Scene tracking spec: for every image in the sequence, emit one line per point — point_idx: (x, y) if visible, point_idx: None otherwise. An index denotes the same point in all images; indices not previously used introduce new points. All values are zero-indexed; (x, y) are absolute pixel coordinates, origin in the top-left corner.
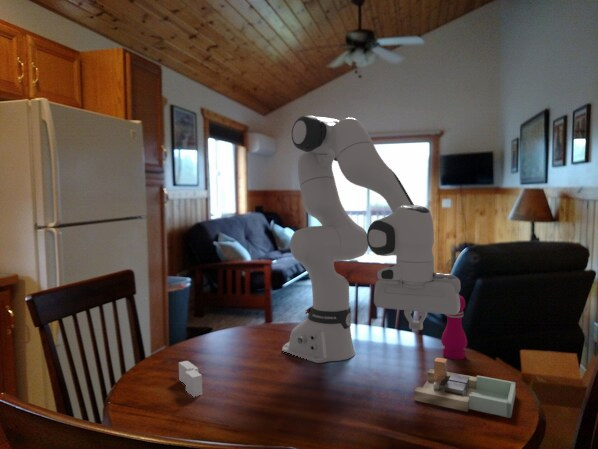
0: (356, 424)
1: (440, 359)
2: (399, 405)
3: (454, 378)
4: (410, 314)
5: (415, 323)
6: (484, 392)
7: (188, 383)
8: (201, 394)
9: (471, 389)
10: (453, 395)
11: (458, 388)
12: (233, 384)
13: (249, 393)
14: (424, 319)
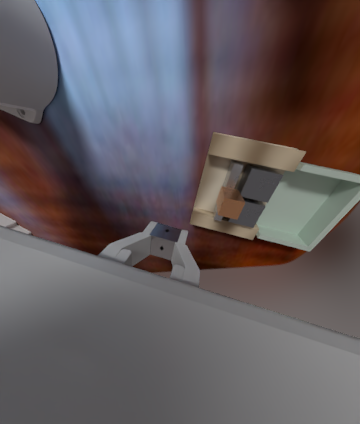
0: (150, 254)
1: (231, 206)
2: (176, 221)
3: (251, 189)
4: (129, 246)
5: (163, 255)
6: (296, 177)
7: None
8: (30, 232)
9: (277, 171)
10: (238, 227)
11: (248, 222)
12: (29, 212)
13: (53, 224)
14: (189, 252)
